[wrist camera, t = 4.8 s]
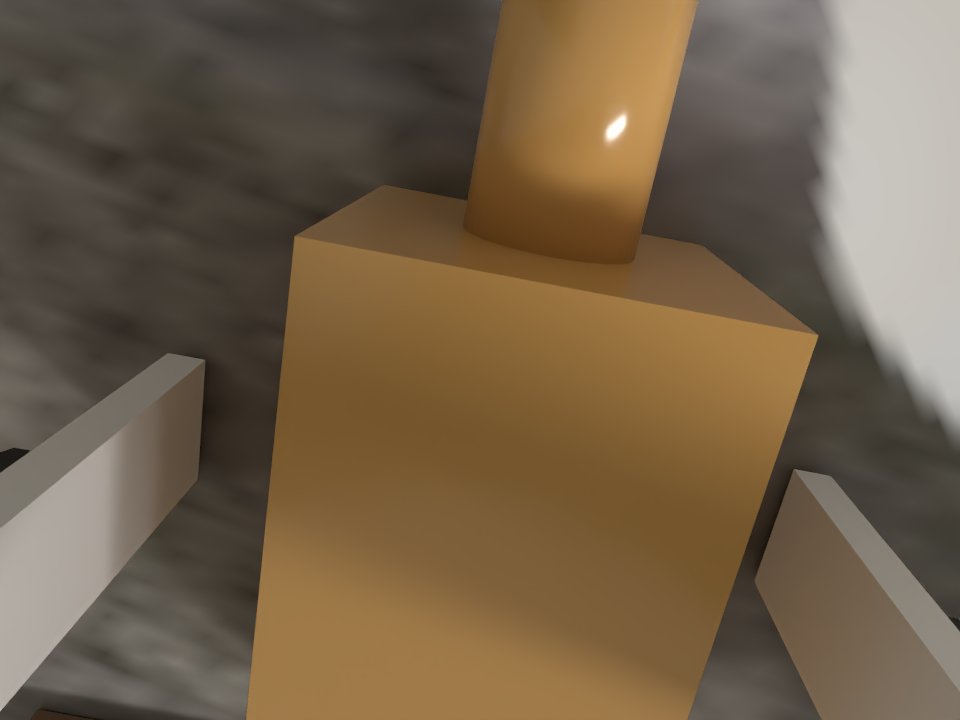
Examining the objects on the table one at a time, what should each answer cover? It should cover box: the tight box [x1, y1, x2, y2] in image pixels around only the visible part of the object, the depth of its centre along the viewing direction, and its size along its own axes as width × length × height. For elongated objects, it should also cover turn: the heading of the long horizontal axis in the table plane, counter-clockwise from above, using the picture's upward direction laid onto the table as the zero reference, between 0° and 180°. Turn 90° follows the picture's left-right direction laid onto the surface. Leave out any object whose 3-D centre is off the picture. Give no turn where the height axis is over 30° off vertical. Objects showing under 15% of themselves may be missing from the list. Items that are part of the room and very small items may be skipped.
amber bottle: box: [246, 0, 819, 720], centre depth 12 cm, size 18×6×6 cm, turn 170°
